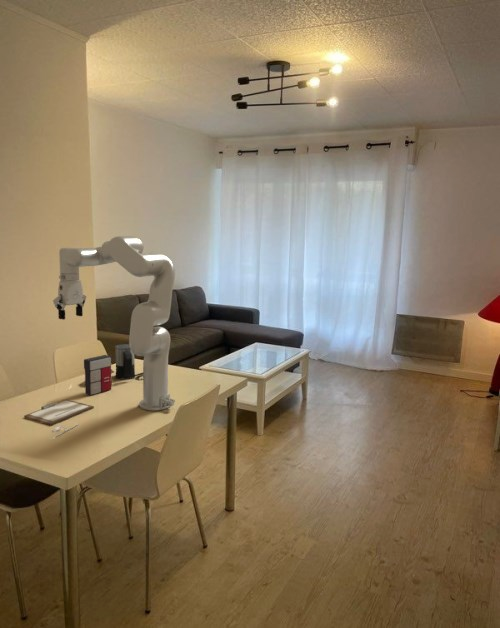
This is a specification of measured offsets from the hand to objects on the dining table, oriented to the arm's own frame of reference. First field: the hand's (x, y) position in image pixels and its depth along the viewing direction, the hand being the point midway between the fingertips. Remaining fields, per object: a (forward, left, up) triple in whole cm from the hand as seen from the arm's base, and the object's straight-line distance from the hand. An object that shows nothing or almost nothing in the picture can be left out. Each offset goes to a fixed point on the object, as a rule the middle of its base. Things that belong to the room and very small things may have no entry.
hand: (70, 317), depth 204 cm
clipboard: (-19, +24, -31) cm, 44 cm away
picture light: (-32, +35, -31) cm, 57 cm away
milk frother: (-12, -26, -31) cm, 42 cm away
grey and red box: (-14, -1, -31) cm, 34 cm away
